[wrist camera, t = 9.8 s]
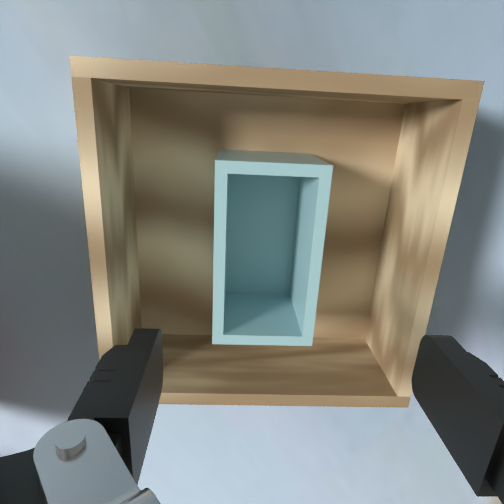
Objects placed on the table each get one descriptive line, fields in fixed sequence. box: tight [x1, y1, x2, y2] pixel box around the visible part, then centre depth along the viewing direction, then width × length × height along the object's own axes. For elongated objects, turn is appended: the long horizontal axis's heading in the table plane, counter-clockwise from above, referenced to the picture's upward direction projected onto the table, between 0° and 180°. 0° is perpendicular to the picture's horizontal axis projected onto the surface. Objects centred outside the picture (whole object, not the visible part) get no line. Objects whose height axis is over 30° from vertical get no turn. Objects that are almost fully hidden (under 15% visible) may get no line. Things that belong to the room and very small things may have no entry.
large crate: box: [70, 56, 484, 407], centre depth 23 cm, size 18×18×7 cm
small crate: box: [212, 149, 333, 346], centre depth 22 cm, size 10×6×6 cm, turn 177°
